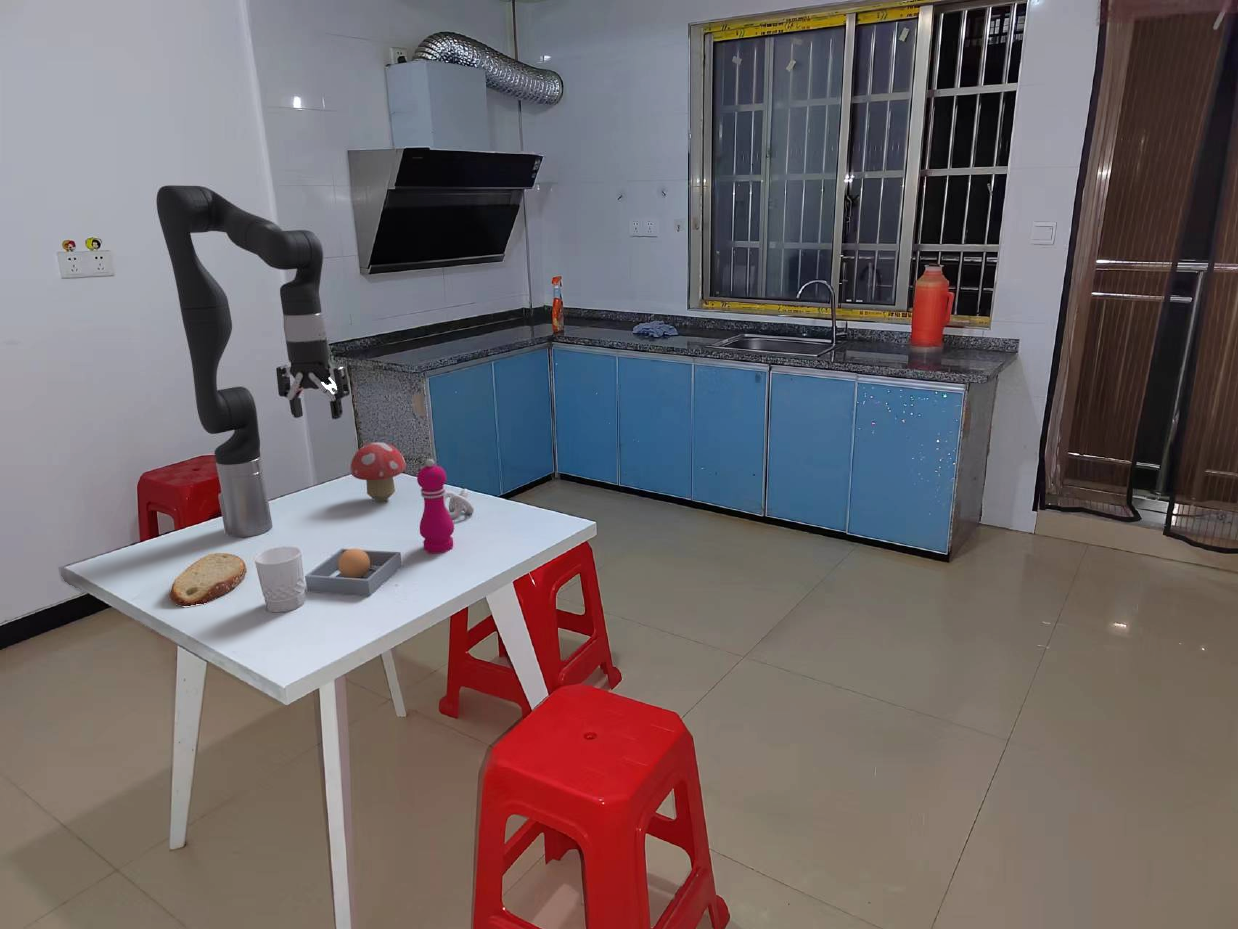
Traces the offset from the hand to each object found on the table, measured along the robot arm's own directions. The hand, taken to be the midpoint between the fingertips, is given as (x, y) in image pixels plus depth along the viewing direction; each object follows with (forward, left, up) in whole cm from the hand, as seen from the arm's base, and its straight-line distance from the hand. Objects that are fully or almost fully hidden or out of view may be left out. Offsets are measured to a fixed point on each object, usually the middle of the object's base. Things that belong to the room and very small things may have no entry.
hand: (317, 417), depth 158 cm
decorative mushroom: (-7, +33, -30) cm, 45 cm away
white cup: (+2, -22, -30) cm, 38 cm away
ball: (+10, -10, -27) cm, 30 cm away
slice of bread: (-19, -16, -31) cm, 39 cm away
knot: (+16, +26, -30) cm, 43 cm away
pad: (+10, -10, -30) cm, 33 cm away
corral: (+10, -10, -30) cm, 33 cm away
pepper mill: (+20, +7, -30) cm, 37 cm away
